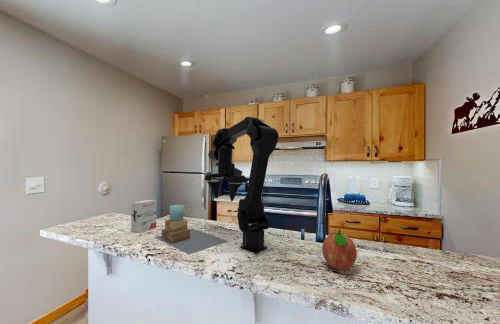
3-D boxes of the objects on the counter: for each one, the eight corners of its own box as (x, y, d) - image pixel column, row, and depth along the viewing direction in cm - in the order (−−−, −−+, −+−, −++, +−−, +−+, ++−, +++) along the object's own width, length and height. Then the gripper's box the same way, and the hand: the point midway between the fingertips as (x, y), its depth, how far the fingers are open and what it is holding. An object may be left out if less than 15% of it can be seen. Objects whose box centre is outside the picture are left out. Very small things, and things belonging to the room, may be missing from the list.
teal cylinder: (185, 220, 78) (186, 206, 78) (173, 222, 74) (174, 207, 74) (178, 217, 81) (179, 204, 81) (167, 219, 77) (167, 205, 77)
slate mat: (228, 242, 76) (228, 241, 76) (188, 255, 64) (189, 254, 64) (192, 229, 90) (192, 228, 90) (154, 238, 78) (154, 237, 78)
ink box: (147, 227, 92) (148, 199, 92) (156, 228, 90) (157, 199, 91) (129, 232, 84) (131, 201, 84) (139, 234, 82) (140, 202, 83)
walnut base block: (190, 238, 78) (190, 229, 78) (171, 243, 72) (172, 233, 72) (179, 234, 82) (179, 225, 82) (161, 238, 77) (161, 229, 77)
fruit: (353, 262, 62) (353, 227, 62) (360, 278, 53) (360, 237, 53) (321, 258, 64) (322, 224, 65) (322, 272, 55) (323, 233, 56)
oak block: (187, 229, 78) (187, 220, 78) (172, 232, 73) (173, 222, 73) (178, 226, 81) (179, 217, 81) (164, 229, 77) (165, 219, 77)
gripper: (255, 161, 88) (254, 200, 88) (224, 161, 100) (223, 195, 100) (236, 160, 80) (235, 203, 79) (204, 160, 92) (203, 197, 92)
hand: (224, 199), depth 88 cm, fingers open, 9 cm apart
